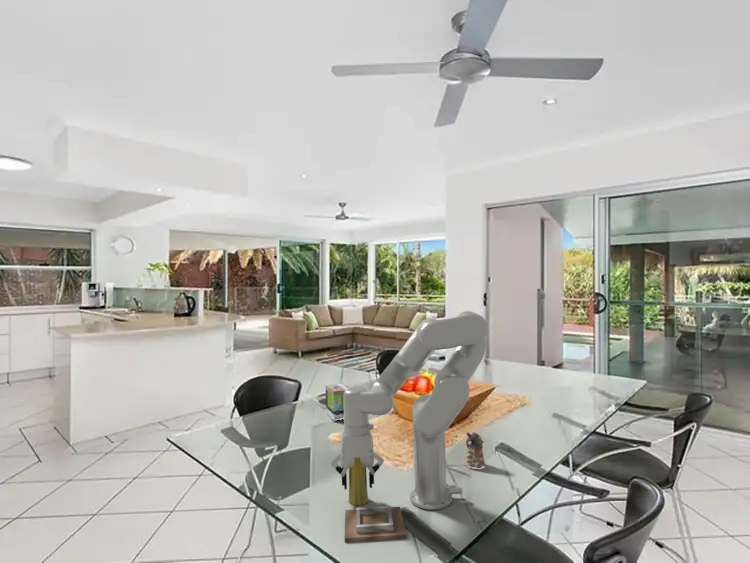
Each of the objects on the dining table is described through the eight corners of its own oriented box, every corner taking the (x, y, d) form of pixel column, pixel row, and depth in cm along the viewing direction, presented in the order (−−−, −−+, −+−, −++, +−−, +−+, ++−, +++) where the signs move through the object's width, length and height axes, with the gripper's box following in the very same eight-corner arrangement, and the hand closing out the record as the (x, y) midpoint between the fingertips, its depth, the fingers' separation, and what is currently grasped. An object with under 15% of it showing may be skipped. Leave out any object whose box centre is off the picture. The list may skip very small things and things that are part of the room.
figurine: (485, 470, 153) (484, 436, 153) (464, 469, 154) (463, 435, 154) (484, 462, 160) (483, 429, 160) (464, 461, 161) (464, 428, 161)
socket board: (400, 510, 129) (399, 501, 129) (406, 538, 115) (405, 528, 115) (345, 513, 128) (345, 504, 128) (344, 542, 114) (344, 532, 114)
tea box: (353, 419, 213) (352, 389, 213) (333, 422, 209) (332, 391, 209) (344, 411, 227) (343, 382, 227) (325, 413, 223) (324, 384, 223)
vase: (357, 493, 139) (356, 448, 139) (372, 499, 135) (371, 453, 135) (344, 501, 134) (343, 455, 134) (359, 507, 131) (358, 459, 130)
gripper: (383, 423, 139) (385, 479, 139) (328, 426, 138) (330, 482, 138) (385, 432, 131) (387, 491, 132) (327, 434, 130) (329, 494, 131)
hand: (358, 486), depth 135 cm, fingers open, 7 cm apart
